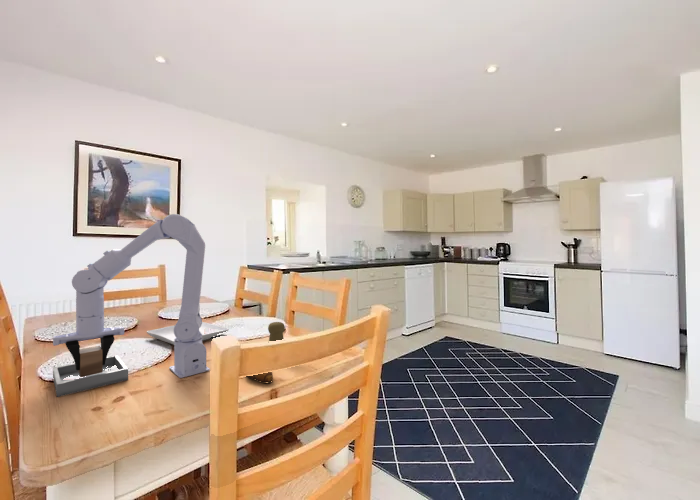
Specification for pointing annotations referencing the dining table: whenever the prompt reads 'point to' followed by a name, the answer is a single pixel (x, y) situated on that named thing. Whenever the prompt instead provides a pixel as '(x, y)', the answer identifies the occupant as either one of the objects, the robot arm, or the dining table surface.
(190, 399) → the dining table surface
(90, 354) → the walnut block
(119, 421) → the dining table surface
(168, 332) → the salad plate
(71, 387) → the tray
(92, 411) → the dining table surface
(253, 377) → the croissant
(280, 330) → the cork
